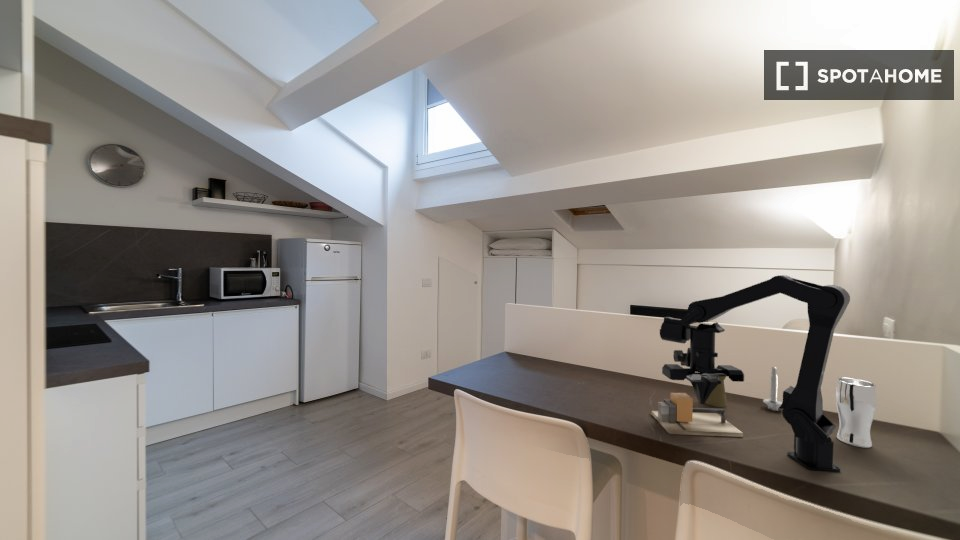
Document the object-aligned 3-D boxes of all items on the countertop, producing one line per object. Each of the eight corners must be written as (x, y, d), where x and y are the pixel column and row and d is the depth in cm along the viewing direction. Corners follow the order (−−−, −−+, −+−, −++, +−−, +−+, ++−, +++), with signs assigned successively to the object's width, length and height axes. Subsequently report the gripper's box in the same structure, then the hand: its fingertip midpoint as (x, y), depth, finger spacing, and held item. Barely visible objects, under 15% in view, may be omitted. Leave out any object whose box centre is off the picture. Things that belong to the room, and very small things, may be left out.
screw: (776, 413, 107) (759, 407, 111) (787, 411, 108) (769, 404, 113) (778, 369, 106) (760, 364, 111) (788, 367, 108) (770, 363, 112)
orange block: (692, 421, 97) (692, 398, 97) (676, 421, 98) (677, 398, 97) (685, 415, 101) (685, 393, 101) (670, 414, 102) (670, 392, 101)
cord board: (743, 436, 92) (743, 413, 92) (669, 433, 94) (669, 410, 94) (716, 416, 104) (717, 395, 104) (651, 414, 106) (651, 393, 106)
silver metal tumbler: (832, 432, 95) (834, 375, 95) (871, 440, 91) (873, 381, 90) (836, 442, 90) (838, 382, 89) (877, 452, 85) (879, 388, 85)
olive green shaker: (730, 408, 110) (731, 372, 110) (708, 406, 112) (709, 370, 111) (721, 400, 116) (722, 366, 116) (700, 398, 118) (701, 365, 117)
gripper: (721, 340, 106) (720, 393, 106) (654, 339, 107) (653, 392, 107) (746, 350, 95) (745, 409, 95) (671, 348, 96) (670, 407, 96)
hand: (701, 403), depth 99 cm, fingers closed
